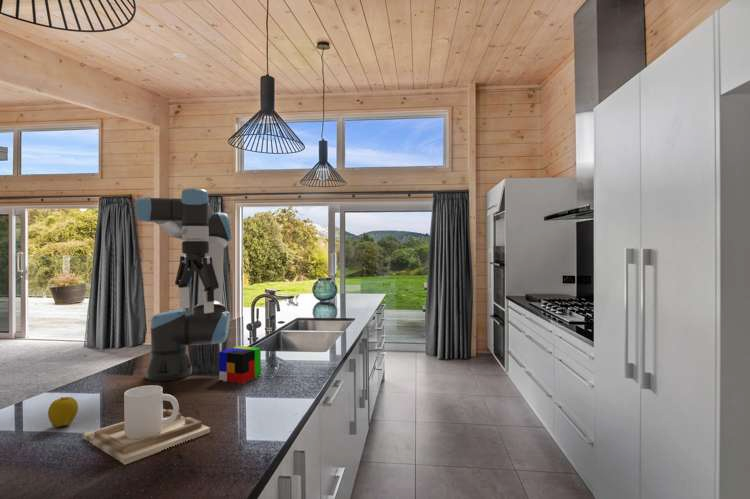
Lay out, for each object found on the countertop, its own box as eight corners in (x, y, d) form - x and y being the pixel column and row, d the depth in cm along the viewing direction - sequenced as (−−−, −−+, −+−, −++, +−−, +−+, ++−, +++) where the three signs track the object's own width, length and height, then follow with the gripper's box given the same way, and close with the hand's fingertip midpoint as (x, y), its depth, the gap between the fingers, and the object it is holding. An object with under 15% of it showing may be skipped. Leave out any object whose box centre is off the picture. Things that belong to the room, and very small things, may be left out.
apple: (55, 433, 110) (54, 401, 110) (43, 427, 113) (43, 396, 113) (83, 424, 115) (82, 393, 115) (71, 419, 118) (71, 389, 118)
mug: (182, 423, 112) (181, 382, 112) (175, 436, 104) (175, 393, 104) (130, 427, 109) (130, 386, 109) (119, 442, 101) (119, 397, 101)
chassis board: (83, 438, 106) (83, 428, 106) (164, 413, 122) (164, 404, 122) (125, 464, 93) (125, 453, 93) (210, 432, 109) (209, 422, 109)
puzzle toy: (219, 380, 152) (219, 351, 152) (238, 373, 162) (238, 345, 162) (242, 383, 149) (242, 354, 149) (260, 375, 158) (260, 348, 158)
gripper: (162, 240, 137) (163, 307, 138) (207, 240, 122) (208, 316, 123) (185, 240, 143) (186, 304, 144) (230, 240, 128) (231, 312, 128)
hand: (196, 310), depth 133 cm, fingers open, 13 cm apart
